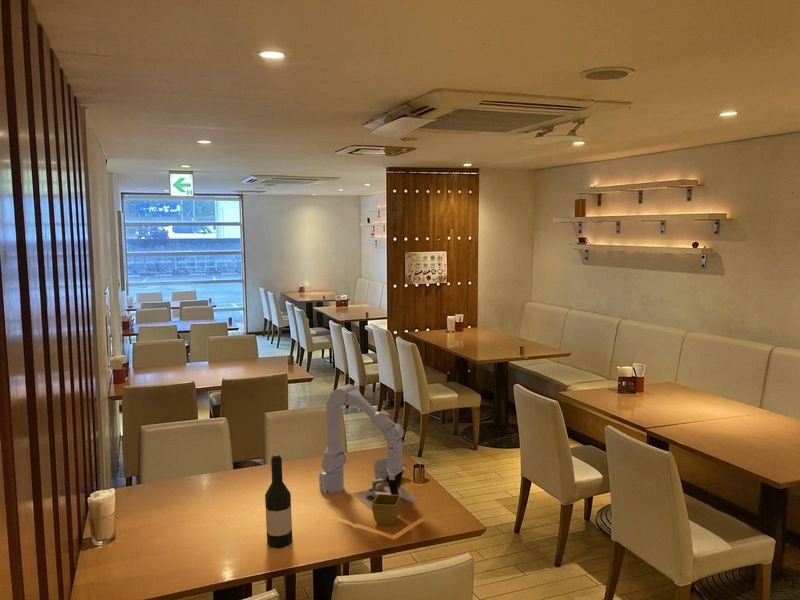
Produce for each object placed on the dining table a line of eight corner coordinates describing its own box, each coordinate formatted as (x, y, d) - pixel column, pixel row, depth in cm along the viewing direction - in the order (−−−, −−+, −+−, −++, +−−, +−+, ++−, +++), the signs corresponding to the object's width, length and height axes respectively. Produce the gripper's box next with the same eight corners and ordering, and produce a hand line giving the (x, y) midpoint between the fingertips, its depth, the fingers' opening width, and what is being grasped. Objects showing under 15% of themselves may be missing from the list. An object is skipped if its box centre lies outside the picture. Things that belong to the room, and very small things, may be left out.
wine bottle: (281, 534, 208) (277, 449, 205) (297, 541, 202) (294, 453, 200) (261, 543, 201) (258, 455, 199) (278, 551, 196) (274, 460, 194)
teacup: (370, 483, 252) (369, 464, 252) (378, 473, 263) (378, 455, 262) (402, 485, 248) (401, 466, 248) (409, 476, 259) (409, 458, 258)
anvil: (373, 491, 240) (372, 481, 240) (371, 489, 242) (371, 479, 242) (383, 489, 242) (383, 479, 241) (382, 487, 244) (382, 478, 243)
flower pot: (396, 530, 208) (395, 505, 208) (372, 528, 210) (371, 503, 210) (401, 519, 217) (401, 495, 216) (378, 517, 219) (377, 493, 218)
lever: (365, 496, 234) (364, 482, 233) (368, 493, 237) (368, 479, 236) (397, 500, 230) (397, 485, 229) (400, 497, 233) (400, 482, 232)
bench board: (372, 514, 222) (372, 510, 222) (352, 496, 239) (351, 493, 239) (419, 502, 231) (419, 499, 231) (397, 486, 248) (396, 482, 248)
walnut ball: (377, 494, 237) (377, 485, 236) (373, 491, 240) (373, 482, 240) (386, 492, 238) (385, 484, 238) (382, 489, 242) (381, 481, 241)
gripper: (402, 463, 224) (402, 499, 225) (407, 451, 238) (408, 484, 239) (383, 463, 225) (384, 498, 226) (390, 450, 239) (391, 483, 240)
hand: (395, 491), depth 233 cm, fingers open, 5 cm apart
